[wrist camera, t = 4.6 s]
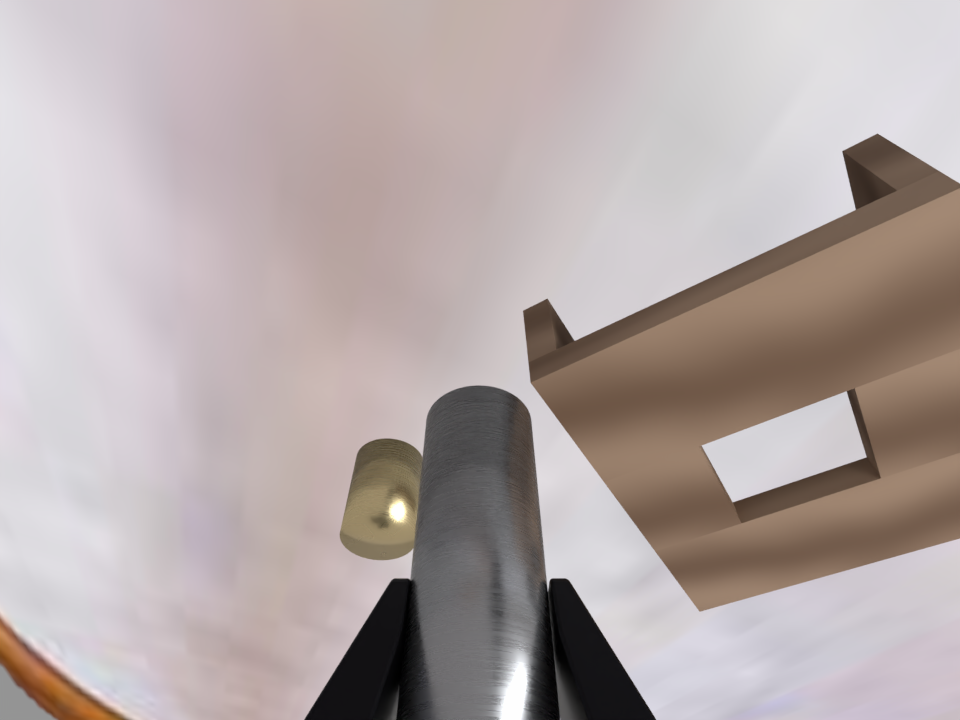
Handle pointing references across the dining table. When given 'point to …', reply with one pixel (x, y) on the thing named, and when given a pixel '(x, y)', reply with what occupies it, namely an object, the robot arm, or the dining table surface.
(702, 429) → the bridge
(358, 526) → the short pin
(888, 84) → the dining table surface
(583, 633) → the robot arm
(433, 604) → the long pin
